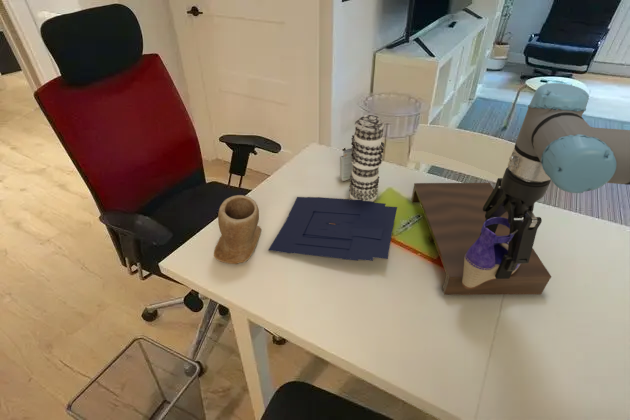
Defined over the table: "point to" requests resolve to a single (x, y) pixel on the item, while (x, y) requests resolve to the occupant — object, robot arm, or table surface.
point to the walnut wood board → (470, 237)
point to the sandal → (486, 255)
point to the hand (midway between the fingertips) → (492, 259)
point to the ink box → (346, 165)
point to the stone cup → (237, 229)
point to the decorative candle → (366, 158)
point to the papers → (337, 229)
